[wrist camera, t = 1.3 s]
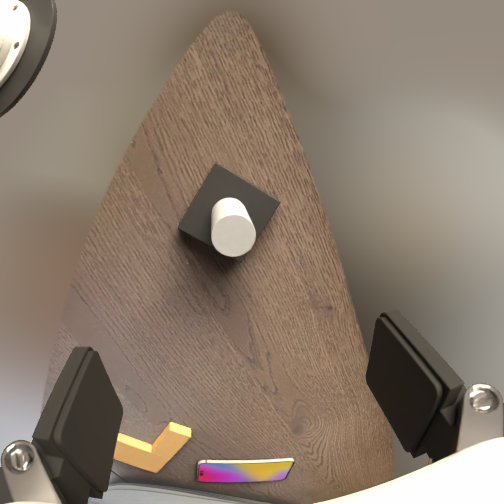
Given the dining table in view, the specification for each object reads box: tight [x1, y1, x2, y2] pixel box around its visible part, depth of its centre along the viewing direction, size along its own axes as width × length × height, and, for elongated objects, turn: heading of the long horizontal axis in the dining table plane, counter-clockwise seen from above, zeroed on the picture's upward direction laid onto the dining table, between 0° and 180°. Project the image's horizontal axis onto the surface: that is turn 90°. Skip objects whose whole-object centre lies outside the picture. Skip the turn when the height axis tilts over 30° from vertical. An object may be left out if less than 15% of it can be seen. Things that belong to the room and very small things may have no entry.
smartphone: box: [197, 458, 294, 483], centre depth 40 cm, size 7×1×15 cm
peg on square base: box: [178, 162, 280, 262], centre depth 23 cm, size 6×6×7 cm
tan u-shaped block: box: [113, 422, 191, 473], centre depth 34 cm, size 13×13×2 cm
